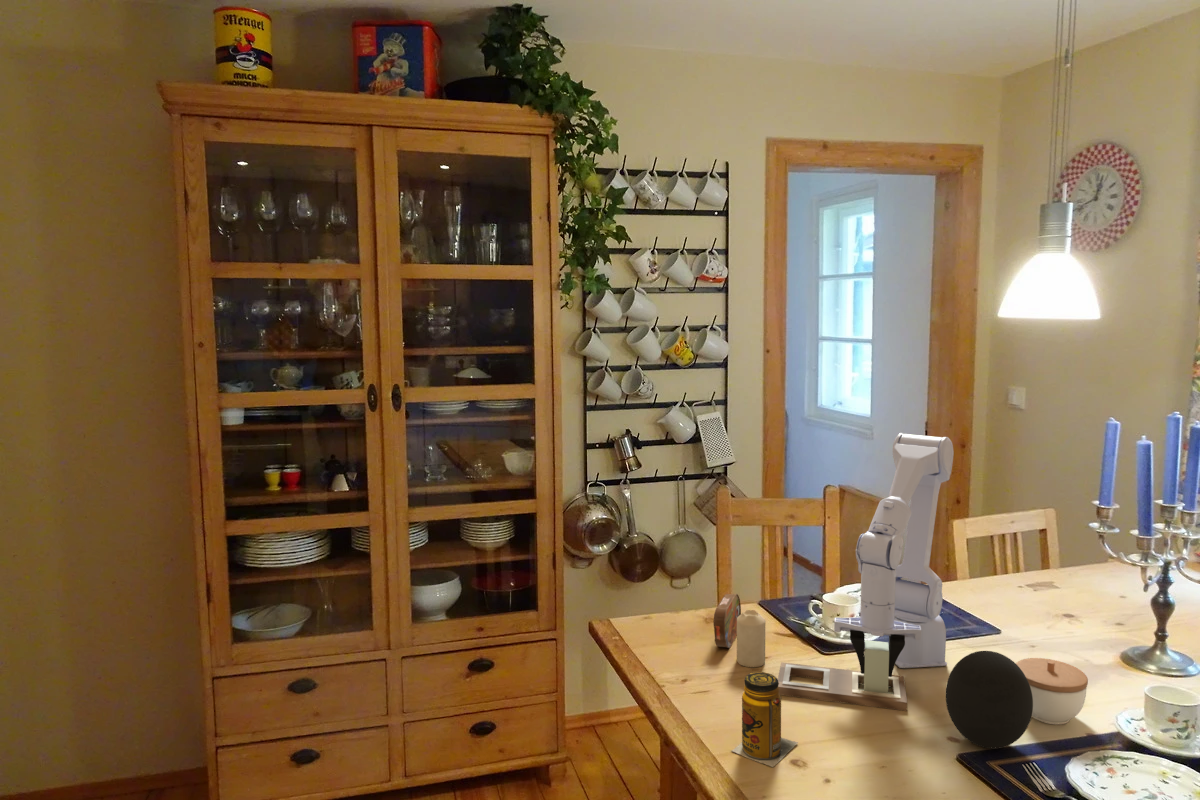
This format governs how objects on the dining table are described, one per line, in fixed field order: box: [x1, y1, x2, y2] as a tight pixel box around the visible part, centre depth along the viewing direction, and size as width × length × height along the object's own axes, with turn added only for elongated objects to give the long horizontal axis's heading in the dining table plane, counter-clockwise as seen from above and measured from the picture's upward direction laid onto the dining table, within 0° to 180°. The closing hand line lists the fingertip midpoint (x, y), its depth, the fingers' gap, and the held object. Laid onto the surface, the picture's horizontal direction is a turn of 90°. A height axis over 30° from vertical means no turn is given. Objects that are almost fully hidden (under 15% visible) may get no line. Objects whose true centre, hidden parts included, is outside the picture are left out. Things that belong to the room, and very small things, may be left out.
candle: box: [736, 609, 767, 668], centre depth 157 cm, size 6×6×10 cm
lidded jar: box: [1015, 657, 1089, 726], centre depth 135 cm, size 11×11×9 cm
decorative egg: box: [945, 650, 1033, 749], centre depth 127 cm, size 12×12×15 cm
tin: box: [712, 593, 742, 649], centre depth 168 cm, size 15×3×8 cm, turn 158°
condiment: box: [730, 671, 799, 768], centre depth 127 cm, size 7×8×12 cm
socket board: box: [777, 661, 908, 712], centre depth 146 cm, size 22×10×2 cm, turn 73°
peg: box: [863, 639, 889, 694], centre depth 144 cm, size 4×4×8 cm
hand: (875, 672), depth 144 cm, fingers closed on peg, 4 cm apart
